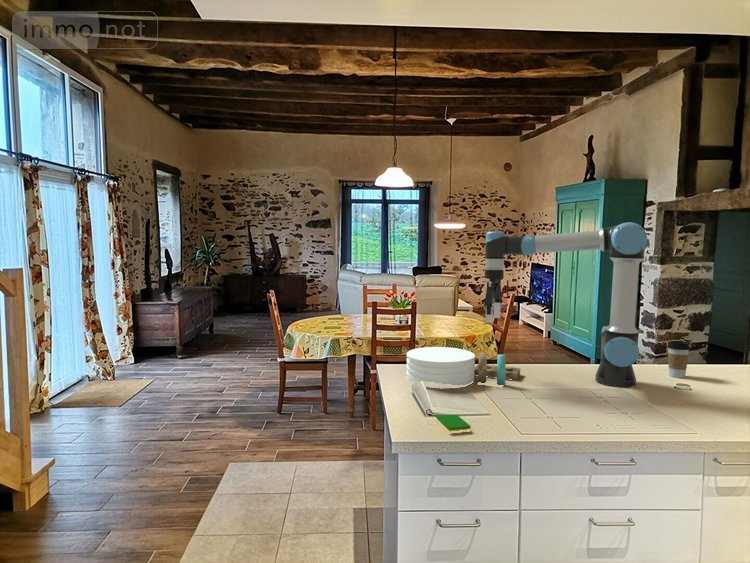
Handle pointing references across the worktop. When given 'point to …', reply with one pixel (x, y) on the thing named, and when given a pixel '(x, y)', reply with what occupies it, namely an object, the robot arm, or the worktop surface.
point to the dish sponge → (452, 422)
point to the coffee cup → (677, 358)
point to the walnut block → (492, 372)
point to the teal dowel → (501, 369)
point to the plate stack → (441, 365)
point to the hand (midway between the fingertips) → (493, 320)
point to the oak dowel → (482, 367)
